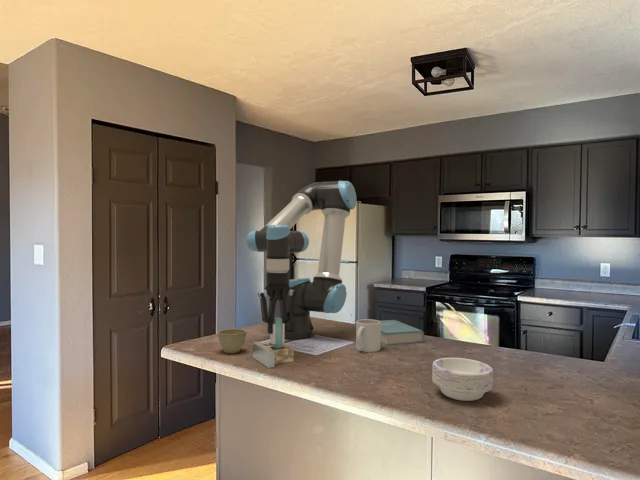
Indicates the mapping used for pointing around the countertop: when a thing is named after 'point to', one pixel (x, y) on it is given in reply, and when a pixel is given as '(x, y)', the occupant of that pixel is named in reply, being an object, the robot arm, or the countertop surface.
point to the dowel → (278, 333)
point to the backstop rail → (264, 354)
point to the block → (283, 354)
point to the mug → (368, 335)
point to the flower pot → (232, 339)
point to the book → (399, 333)
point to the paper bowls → (462, 378)
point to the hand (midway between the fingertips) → (277, 342)
